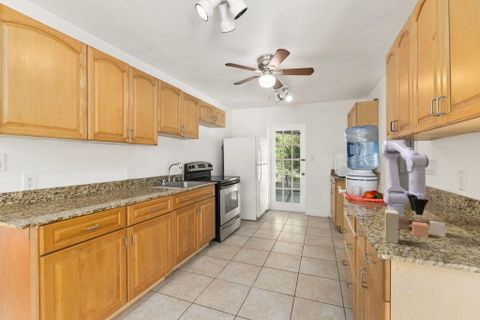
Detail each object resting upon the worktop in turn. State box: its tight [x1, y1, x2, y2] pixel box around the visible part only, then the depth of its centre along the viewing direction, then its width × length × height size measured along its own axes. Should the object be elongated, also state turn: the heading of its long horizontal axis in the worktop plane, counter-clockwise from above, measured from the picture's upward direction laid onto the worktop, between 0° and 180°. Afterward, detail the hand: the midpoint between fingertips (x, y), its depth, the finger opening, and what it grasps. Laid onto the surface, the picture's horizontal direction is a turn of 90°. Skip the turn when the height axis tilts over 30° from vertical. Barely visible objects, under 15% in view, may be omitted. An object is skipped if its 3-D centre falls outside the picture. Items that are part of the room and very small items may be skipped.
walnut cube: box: [398, 216, 410, 231], centre depth 106 cm, size 5×5×5 cm
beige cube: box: [429, 220, 446, 237], centre depth 97 cm, size 5×5×5 cm
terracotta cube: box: [411, 221, 429, 239], centre depth 95 cm, size 5×5×5 cm
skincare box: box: [384, 209, 399, 245], centre depth 89 cm, size 6×4×12 cm
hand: (416, 212), depth 95 cm, fingers open, 7 cm apart
